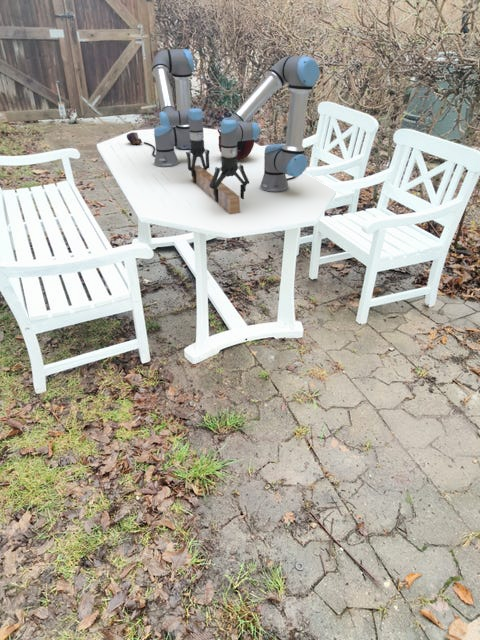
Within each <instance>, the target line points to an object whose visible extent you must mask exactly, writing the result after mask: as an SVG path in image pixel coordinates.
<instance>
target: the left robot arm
mask: <svg viewBox="0 0 480 640" xmlns="http://www.w3.org/2000/svg"><path fill="white" fill-rule="evenodd" d="M194 72H195V61H194V58H193V53H192V51H191V50H190V49H187V48H186V49H185V48H175V49H162V50H160V51H158V52H157V53H156V54H155V56H154V57H153V59H152V63H151V73H152V76H153V78H154V80H155V85H156V91H157V94H158V95H157V96H158V100H159V105H160V110H161V111H159V112H158V119H159V125H158V126H157V125H156V127H155V128H154V129H153V136H154V142H155V143H154V145H153V144H151V143H149V142H146V141H144V142H143V144H145V145H147V146H151V147H152V148H153V150H152V153H151V155H152V156H153V157H154V165H155V166H157V167H163V168H164V167H165V168H167V167H168V168H169V167H174V166H177V165H178V164H179V159H178V157H177V153H176V151H175V147H176V146H189V145H191V149H189V151H186V152H185V155H186V162H187V170H188V171H190V172H191V178H192V177H193V180H192V181H193V183H195V184H196V172H195V171H194V168H195V166H196V163H197V158H200V163H201V166H202V168H204V169H205V170H206V171H208V169H210V150H209V149H206V148H205V140H204V139H205V138H204V115H203V109H202V108H197V107H196V108H195V107H194V108H192V107H191V106H192V103H191V85H190V79H191V77H192V76H193V73H194ZM170 74H171V77H172V78H174V87H175V99H176V100H175V102H176V106H175V103H174V98H173V93H172V88H171V82H170V78H169V75H170ZM204 154H205V158H204ZM191 155H192V161H191Z"/></svg>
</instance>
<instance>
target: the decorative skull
mask: <svg viewBox="0 0 480 640" xmlns="http://www.w3.org/2000/svg"><path fill="white" fill-rule="evenodd" d="M217 133H218V150H219V152H220V153H221V129H217ZM254 146H255V139H253V140H246V141H239V142H237V162H239V161H242V160H244V159H246V158H248V157H249V155H251V152H252V151H253V148H254Z"/></svg>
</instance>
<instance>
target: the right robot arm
mask: <svg viewBox="0 0 480 640" xmlns="http://www.w3.org/2000/svg"><path fill="white" fill-rule="evenodd" d="M319 77H320V66H319V63H318V62H317V60H316V59H315V58H313V57H310V56H302V55H301V56H300V55H294V54H293V55H291V54H290V55H285V56H284V57H282V58H281V59H280V60H278V61H277V62H276V63H275V64H274V65H273V66H272V67H271V68H269V70H268V71H267V72H266V77H264V79H263V80H262V81H261V82H260V83H259V84H258V86H257V87H256V88H255V89H254V90H253V91H252V92H251V94H249V96H248V97H247V98H246V99H245V100H244V101H243V102H242V104H241V105H240V106H239V107H238V108H237V109H236V110H235V111H234V112H233V114H232V115H230V116H228V117H224V118H223V119H222V120H221V122H220V132H221V152H220V155H221V157H220V158H221V160H220V161H221V166H220V167H218V166H216V167H215V168H214V173H213V174H212V175H213V178H212V180H211V183H210V185H209V187H210V188H212V189H213V194H214V196H215V200H214V201H215V203H217V204H219V196H218V189H217V188H218V186H219V185H220V183H223V180H224V179H225V178H226V177H233V176H235V178H236V179H237V180H238V181H239V182H240V186H239V187H240V189H239V191H240V195H239V198H240V199H242V200H245V192H246V189H247V186H248V185H249V184H250V181H249V178H248V176H247V174H246V172H245V169H244V165H242V164H239V165H238V161H237V142H239V141H246V140H253V139H254V140H256V139H258V138H259V136H260V130H261V129H260V125H259V124H258V123H257V122H255V121H250V120H251V119H252V118H253V116H254V115H256V113H257V112H258V111H259V110H260V109H261V108H262V106H264V104H265V103H266V102H267V101H268V100H269V99H270V97H272V95H273V94H274V93H275V92H276V91H277V90H278V89H281V88H283V86H284V85H286V84H288V85H287V86H288V87H287V88H288V90H289V92H290V97H289V107H288V116H287V123H286V124H287V125H286V135H285V144H284V143H277V144H276V143H275V144H269V145H266V146H265V148H264V153H263V154H264V162H263V163H264V165H263V167H264V168H263V169H264V171H263V176H262V178H261V179H262V180H261V182H260V189H261V190H263V191H266V192H269V193H270V192H272V193H273V192H274V193H280V192H284V191H287V190H288V188H289V183H288V181H289V180H292V179H295V178H296V177H300V176H301V175H303V173H304V172H305V171H306V170H307V167H308V158H307V156H306V155H305V147H304V146H303V141H304V134H305V125H306V118H307V108H308V101H309V94H310V93H311V92H312V91H313V86H314V85H316V84H317V82H318V81H319ZM249 121H250V122H249ZM238 170H239V172H240V174H241V176H242V177H241V176H240V175H239V173H238V172H237V171H238ZM287 176H289V177H288V178H287ZM217 179H218V180H217ZM216 180H217V181H216ZM215 182H216V183H215Z"/></svg>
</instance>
